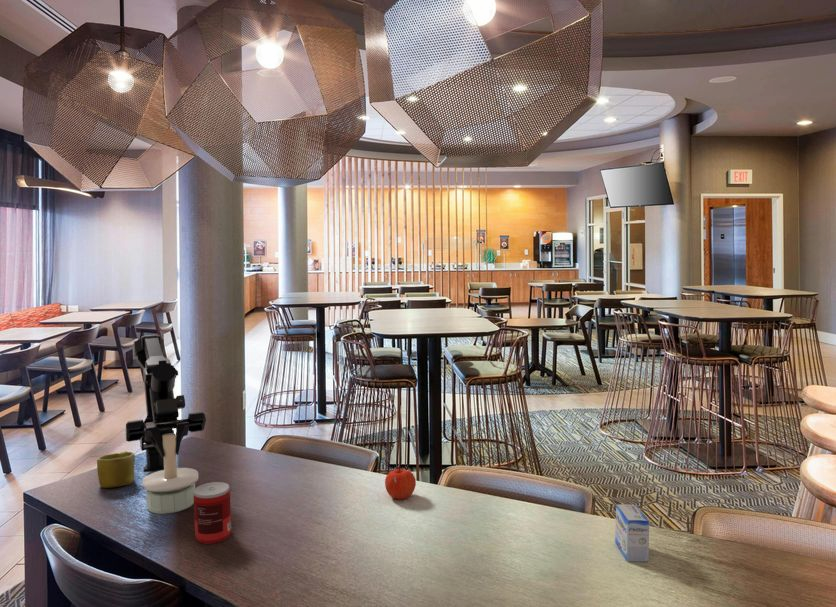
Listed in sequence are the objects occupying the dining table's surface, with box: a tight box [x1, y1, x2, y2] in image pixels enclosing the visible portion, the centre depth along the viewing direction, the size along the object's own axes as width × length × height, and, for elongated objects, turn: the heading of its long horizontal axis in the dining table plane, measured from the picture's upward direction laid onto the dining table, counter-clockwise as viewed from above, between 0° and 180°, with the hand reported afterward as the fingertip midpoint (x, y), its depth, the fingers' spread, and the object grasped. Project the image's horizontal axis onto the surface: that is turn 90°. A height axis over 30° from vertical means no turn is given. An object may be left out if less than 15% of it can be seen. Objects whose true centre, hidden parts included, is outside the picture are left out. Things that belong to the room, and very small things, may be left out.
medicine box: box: [614, 504, 650, 563], centre depth 120 cm, size 8×4×9 cm, turn 178°
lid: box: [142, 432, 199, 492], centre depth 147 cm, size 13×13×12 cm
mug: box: [96, 450, 136, 489], centre depth 163 cm, size 12×10×10 cm
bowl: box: [145, 482, 196, 515], centre depth 147 cm, size 11×11×4 cm
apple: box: [384, 466, 417, 500], centre depth 150 cm, size 8×8×8 cm
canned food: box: [193, 481, 232, 545], centre depth 130 cm, size 8×8×11 cm
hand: (170, 455), depth 145 cm, fingers closed on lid, 3 cm apart
